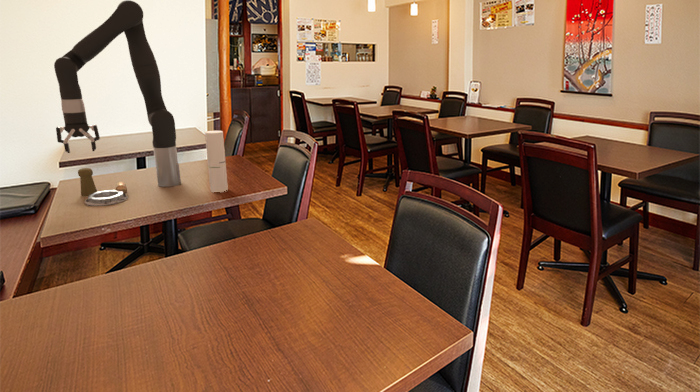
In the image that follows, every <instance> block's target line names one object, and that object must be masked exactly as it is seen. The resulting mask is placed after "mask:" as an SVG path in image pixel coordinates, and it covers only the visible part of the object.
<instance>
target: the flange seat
mask: <svg viewBox="0 0 700 392" xmlns="http://www.w3.org/2000/svg"><path fill="white" fill-rule="evenodd" d="M128 198H129V197H128V195H127V193H126V194H123V191H120V190H116V189H108V190H107V189H105V190H101V191H97V192H95V193H92V194H90V195H88V196H87V199H85V200H84V204H85V205H86V206H88V207H107V206H113V205H117V204H120V203H123V202H125V201H127V200H128Z"/></svg>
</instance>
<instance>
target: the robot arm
mask: <svg viewBox="0 0 700 392" xmlns="http://www.w3.org/2000/svg"><path fill="white" fill-rule="evenodd" d="M143 10H144V9H142V7H141V5H140V4H139V3H137V2H136V1H134V0H123V1H121V2H120V3H118V5H117V7H116V9H115V10H114V11H113V13H112V14H110V16H109V17H108V18H107V19H106V20H105V21H104V22H103V23H101V24H100V25H99V26H98V27H96V28H95V29H93V30H92V31H90V32H89V33H88V34H87V35H85V36H84V37H83V38H81V39H80V40H79V41H78V42H77V43H76V44H75V45H74V46H73V47H72V48H71V50H69V51H68V52H66V53H65V54H63V56H61V57H59V58H57V59H55V61H54V64H53V65H54V68H53V69H54V72H55V76H56V80H57V83H58V87H59V88H58V89H59V95H60V100H61V101H60V102H61V111H62V115H63V116H62V117H63V120H64V126H56V127H55V132H56V140H57V142H58V143H59V144H63V147H64V151H65V152H66V153H67V154H70V153H71V151H70V144H69V141H70V139H71V137H72V138H78V137H79V138H83V137H86V138H87V139H88V140H89V141H90V143H91V150H92V152H95V151H96V149H97V145H96V142H97V141H100V139H101V138H100V134H99V129H98V125H97V124H93V125H89V124H88V120H87V114H86V109H85V108H86V107H85V103H84V99H83V94H82V89H81V86H80V83H79V77H78V72H79V71H80V70H81V69H82V68H83V67H84V66H85V65H86V64H87V63H89V62H90V61H92V60H93V59H95V58H96V57H97V56H98V55H99V54H100V53H101V52H102V51H104V50H105V48H106V47H108V46H109V45H110V44H111V43H112V42H113V41H114V40H115V39H116V38H117V37H119V36H120V35H121V34H123V33H124V35H125V38H126V40H127V47H128V52H129V57H130V62H131V65H132V70H133V71H134V72H133V73H134V75H135V78H136V81H137V84H138V87H139V90H140V92H141V94H142V97H143V99H144V104H145V109H146V114H147V120H148V123H149V125H150V126H151V131H152V148H153V156H154V165H155V170H156V178H157V179H156V180H157V185H158V186H159V187H161V188H162V187H163V188H171V187H176V186H179V185H182V180H181V172H180V163H179V160H178V152H177V143H176V141H177V134H176V133H177V132H176V123H175V118H174V116H173V113H171V112H170V111H168V108H167V106H166V104H165V101H164V98H163V95H162V85H161V84H162V83H161V75H160V70H159V66H158V64H157V60H156V57H155V55H154V52H153V50H152V48H151V45H150V43H149V41H148V39H147V35H146V31H145V26H144V20H143V19H144V11H143ZM90 129H91V130H92V131H93V132H94V136H95V137H93V135H91V134H90V133H89V130H90ZM63 131H65V132H66V133H67V134H66V135H67V136H66V137H65V139H63V138H62V133H63Z"/></svg>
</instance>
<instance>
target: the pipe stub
mask: <svg viewBox="0 0 700 392" xmlns="http://www.w3.org/2000/svg"><path fill="white" fill-rule="evenodd" d="M115 190H120V191H123V194H126V195H127V192H128V188H127V186H126V183H125V182H123V181H119V182H117V184H116V187H115Z"/></svg>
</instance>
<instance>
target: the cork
mask: <svg viewBox="0 0 700 392" xmlns="http://www.w3.org/2000/svg"><path fill="white" fill-rule="evenodd" d="M93 171H94V170H93V169H92V168H91V167H90V168H89V167H84V168H79V169H78V170H77V175H78V176H79V178H80V180H79V181H80V196H81V197H83V198H85V197H87V198H88V195H90V194H92V193H95V192H98V190H97V188H96V185H95V181H94V178H93V175H94V172H93Z"/></svg>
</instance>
